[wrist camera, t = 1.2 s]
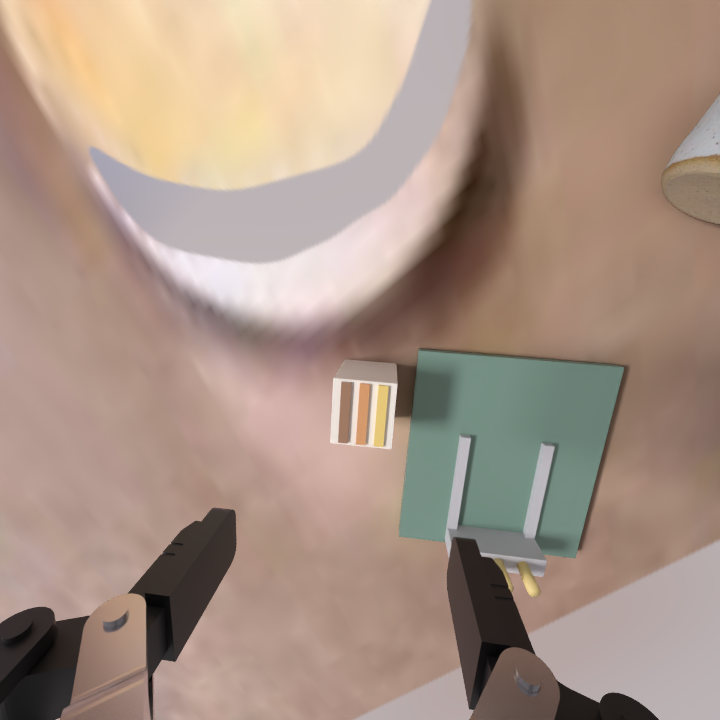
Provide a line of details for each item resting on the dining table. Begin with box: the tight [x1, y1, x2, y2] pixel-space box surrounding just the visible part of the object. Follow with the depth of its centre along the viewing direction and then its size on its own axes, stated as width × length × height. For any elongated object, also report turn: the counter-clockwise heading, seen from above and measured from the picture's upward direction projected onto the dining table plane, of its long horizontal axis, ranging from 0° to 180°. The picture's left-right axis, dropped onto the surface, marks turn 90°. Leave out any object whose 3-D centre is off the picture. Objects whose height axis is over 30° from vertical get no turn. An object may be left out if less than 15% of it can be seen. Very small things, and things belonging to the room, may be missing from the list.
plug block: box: [330, 359, 398, 449], centre depth 27 cm, size 5×4×6 cm
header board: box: [399, 348, 624, 597], centre depth 27 cm, size 18×16×6 cm
